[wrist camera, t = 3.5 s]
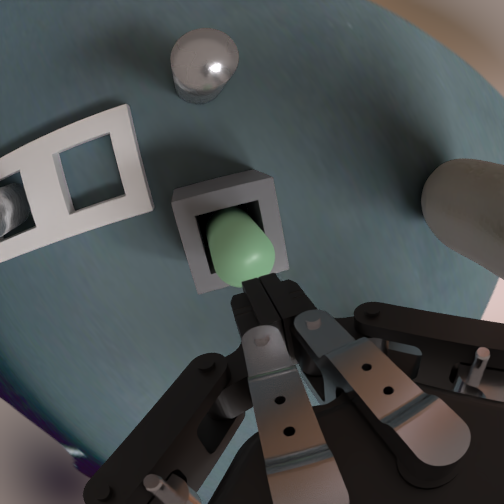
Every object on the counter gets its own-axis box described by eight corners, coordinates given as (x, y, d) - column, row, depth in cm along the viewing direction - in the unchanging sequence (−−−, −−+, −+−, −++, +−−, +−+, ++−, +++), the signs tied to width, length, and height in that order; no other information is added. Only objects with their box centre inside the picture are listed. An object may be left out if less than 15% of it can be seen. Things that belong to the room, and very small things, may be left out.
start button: (248, 201, 23) (269, 221, 17) (257, 245, 24) (279, 278, 19) (200, 213, 22) (206, 238, 17) (212, 257, 24) (221, 294, 18)
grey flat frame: (129, 106, 22) (126, 103, 20) (154, 206, 25) (152, 210, 24) (-27, 177, 20) (-36, 179, 18) (-1, 260, 23) (-9, 266, 22)
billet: (217, 56, 22) (231, 23, 15) (227, 98, 23) (244, 81, 16) (170, 66, 21) (165, 35, 14) (179, 109, 23) (177, 94, 16)
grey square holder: (253, 169, 26) (272, 177, 20) (268, 243, 29) (289, 269, 23) (174, 189, 25) (170, 202, 20) (194, 263, 28) (198, 294, 22)
